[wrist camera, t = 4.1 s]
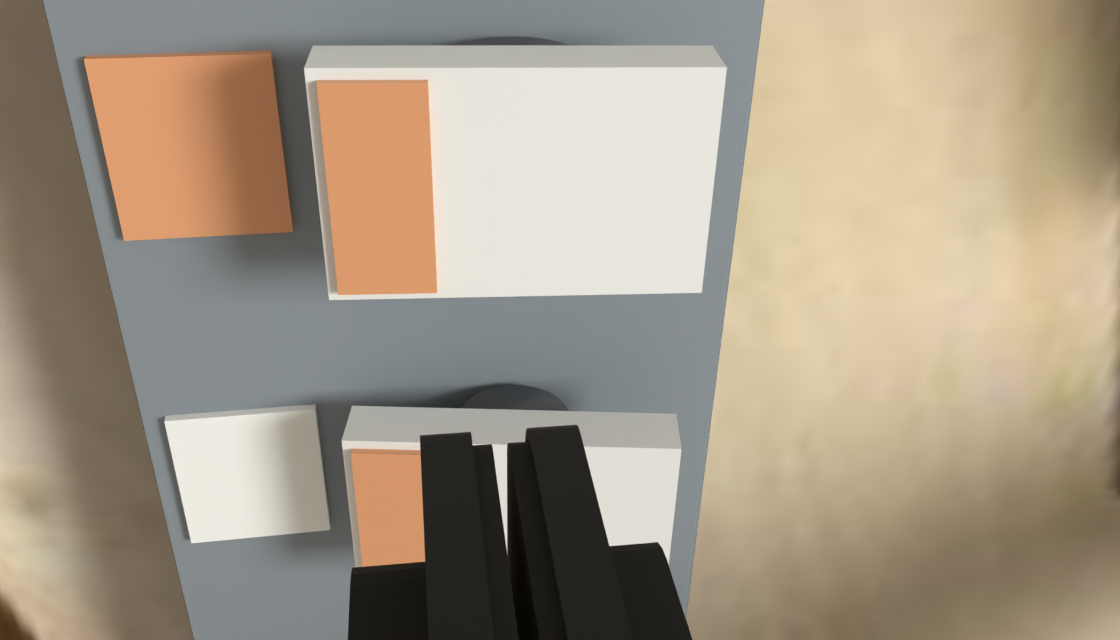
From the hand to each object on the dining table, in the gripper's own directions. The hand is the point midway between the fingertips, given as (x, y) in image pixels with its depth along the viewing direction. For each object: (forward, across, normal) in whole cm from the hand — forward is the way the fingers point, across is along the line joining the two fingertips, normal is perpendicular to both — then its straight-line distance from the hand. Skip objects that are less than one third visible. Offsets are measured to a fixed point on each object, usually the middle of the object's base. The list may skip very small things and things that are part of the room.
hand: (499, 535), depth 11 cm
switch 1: (+11, -1, 0) cm, 11 cm away
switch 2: (+11, -1, +8) cm, 13 cm away
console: (+15, 0, +8) cm, 17 cm away
